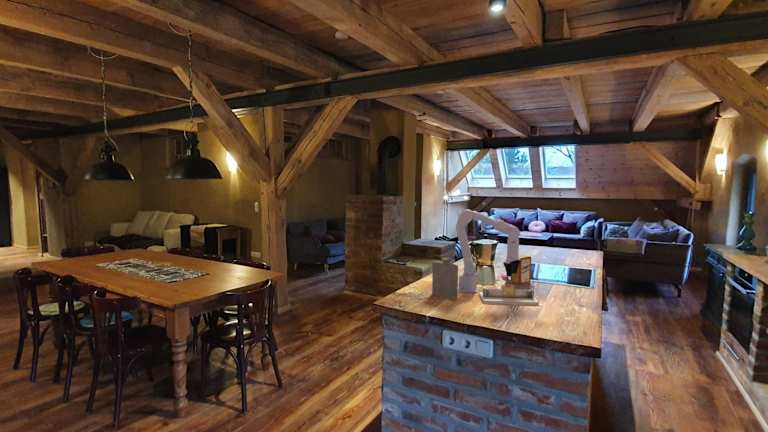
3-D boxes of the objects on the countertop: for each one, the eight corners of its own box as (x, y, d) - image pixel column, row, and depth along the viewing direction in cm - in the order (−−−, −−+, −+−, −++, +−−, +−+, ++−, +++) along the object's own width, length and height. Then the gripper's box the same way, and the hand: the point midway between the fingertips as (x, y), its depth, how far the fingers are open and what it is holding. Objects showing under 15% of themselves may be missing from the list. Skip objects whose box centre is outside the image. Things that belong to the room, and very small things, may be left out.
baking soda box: (519, 285, 221) (520, 257, 220) (510, 282, 227) (511, 255, 226) (530, 282, 226) (531, 255, 225) (521, 280, 232) (522, 254, 231)
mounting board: (483, 303, 188) (483, 300, 187) (479, 295, 202) (479, 292, 201) (538, 305, 185) (538, 302, 185) (530, 296, 199) (530, 293, 199)
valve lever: (511, 283, 191) (511, 280, 191) (506, 283, 191) (506, 280, 191) (506, 277, 203) (506, 274, 203) (501, 277, 204) (501, 274, 203)
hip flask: (430, 294, 203) (431, 256, 201) (436, 292, 206) (436, 255, 204) (454, 301, 191) (455, 261, 189) (459, 299, 193) (460, 260, 192)
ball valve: (484, 299, 191) (484, 284, 191) (482, 295, 197) (482, 281, 197) (534, 300, 189) (534, 285, 189) (530, 297, 195) (531, 282, 194)
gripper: (515, 252, 194) (514, 278, 196) (525, 248, 206) (523, 273, 207) (501, 250, 199) (500, 276, 200) (512, 246, 210) (511, 271, 211)
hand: (511, 274), depth 204 cm, fingers open, 7 cm apart
